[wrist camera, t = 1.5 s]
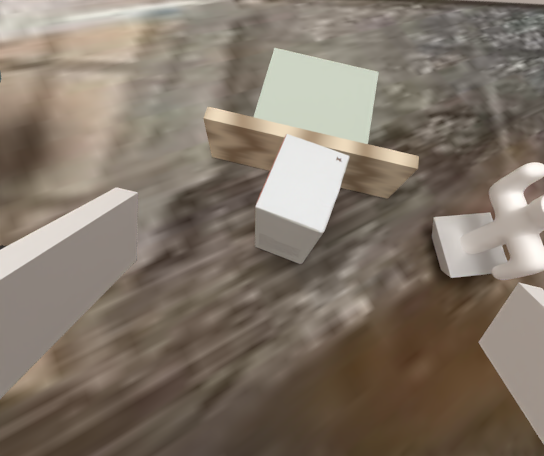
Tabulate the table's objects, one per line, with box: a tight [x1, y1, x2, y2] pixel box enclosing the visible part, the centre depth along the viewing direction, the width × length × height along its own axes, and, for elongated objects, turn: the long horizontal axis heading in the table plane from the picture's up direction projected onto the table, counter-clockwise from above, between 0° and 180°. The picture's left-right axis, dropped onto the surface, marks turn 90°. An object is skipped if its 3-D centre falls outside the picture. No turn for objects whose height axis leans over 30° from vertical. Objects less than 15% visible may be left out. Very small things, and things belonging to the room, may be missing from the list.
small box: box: [255, 134, 349, 264], centre depth 33 cm, size 8×6×13 cm
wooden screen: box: [204, 107, 419, 199], centre depth 38 cm, size 24×2×8 cm, turn 77°
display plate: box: [254, 48, 378, 144], centre depth 45 cm, size 16×16×1 cm
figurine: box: [432, 162, 544, 280], centre depth 33 cm, size 7×9×15 cm
